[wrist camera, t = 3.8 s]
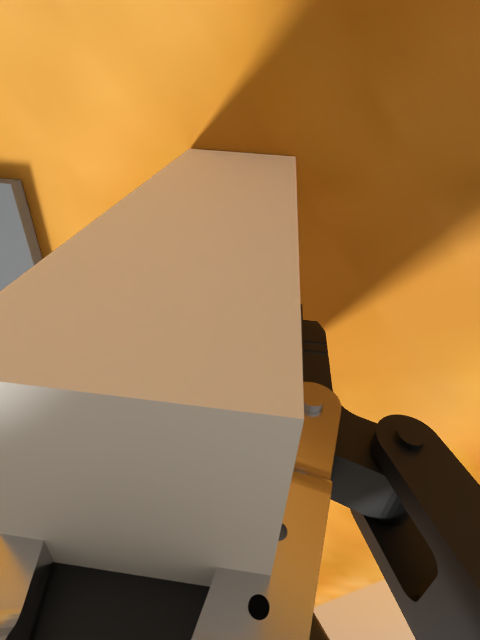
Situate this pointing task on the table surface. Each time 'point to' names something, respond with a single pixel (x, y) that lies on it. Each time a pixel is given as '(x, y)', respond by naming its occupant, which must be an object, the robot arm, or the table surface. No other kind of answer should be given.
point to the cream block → (160, 376)
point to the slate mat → (15, 233)
